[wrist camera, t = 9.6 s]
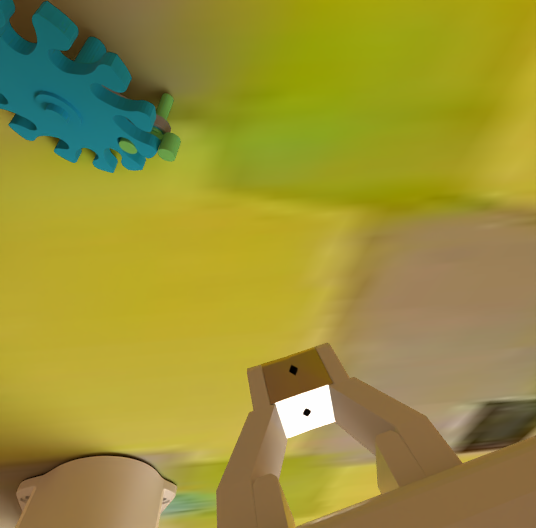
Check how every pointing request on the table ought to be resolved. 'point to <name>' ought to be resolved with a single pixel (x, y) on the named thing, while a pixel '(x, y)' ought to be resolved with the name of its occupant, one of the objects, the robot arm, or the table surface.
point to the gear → (77, 95)
